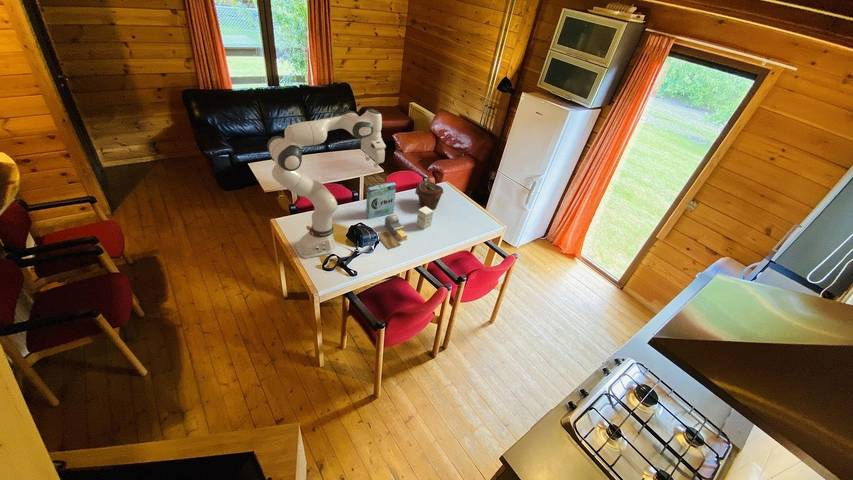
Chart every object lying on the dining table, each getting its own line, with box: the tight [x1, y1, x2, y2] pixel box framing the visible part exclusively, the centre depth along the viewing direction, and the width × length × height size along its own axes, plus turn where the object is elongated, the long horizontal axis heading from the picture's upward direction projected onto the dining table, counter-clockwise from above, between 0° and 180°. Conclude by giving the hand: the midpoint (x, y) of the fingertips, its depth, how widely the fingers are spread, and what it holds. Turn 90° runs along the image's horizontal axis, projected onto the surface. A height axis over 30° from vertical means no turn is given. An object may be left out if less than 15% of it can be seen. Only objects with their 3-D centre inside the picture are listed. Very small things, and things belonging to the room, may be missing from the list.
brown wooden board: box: [377, 230, 402, 250], centre depth 230 cm, size 9×16×1 cm, turn 36°
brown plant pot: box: [414, 180, 444, 211], centre depth 262 cm, size 18×20×18 cm
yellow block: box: [395, 229, 408, 242], centre depth 234 cm, size 12×4×4 cm, turn 36°
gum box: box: [365, 181, 397, 220], centre depth 244 cm, size 20×5×23 cm, turn 123°
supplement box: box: [415, 206, 434, 230], centre depth 244 cm, size 7×7×13 cm
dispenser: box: [384, 213, 404, 237], centre depth 236 cm, size 12×7×10 cm, turn 36°
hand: (371, 163), depth 205 cm, fingers open, 8 cm apart
